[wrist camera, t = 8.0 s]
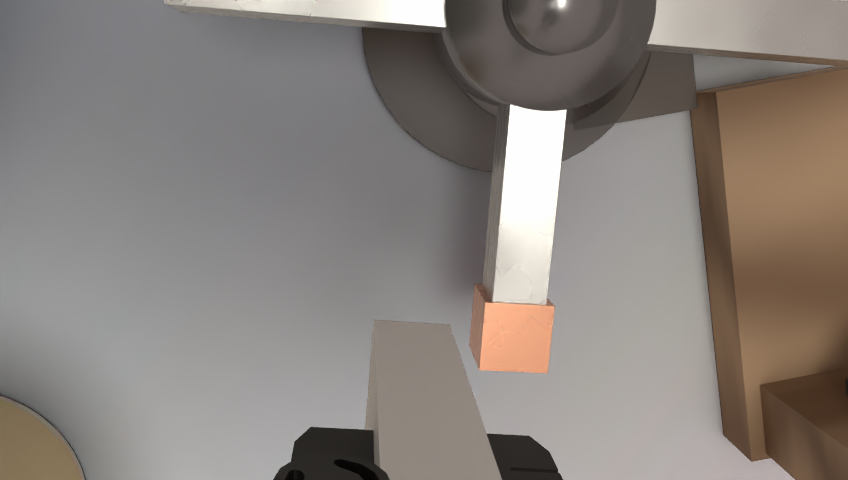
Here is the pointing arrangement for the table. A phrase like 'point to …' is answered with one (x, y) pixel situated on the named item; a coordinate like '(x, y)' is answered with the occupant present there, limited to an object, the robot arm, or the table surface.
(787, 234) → the stand
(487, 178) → the table surface
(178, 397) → the table surface
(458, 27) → the silver cross-shaped piece
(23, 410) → the coffee cup
